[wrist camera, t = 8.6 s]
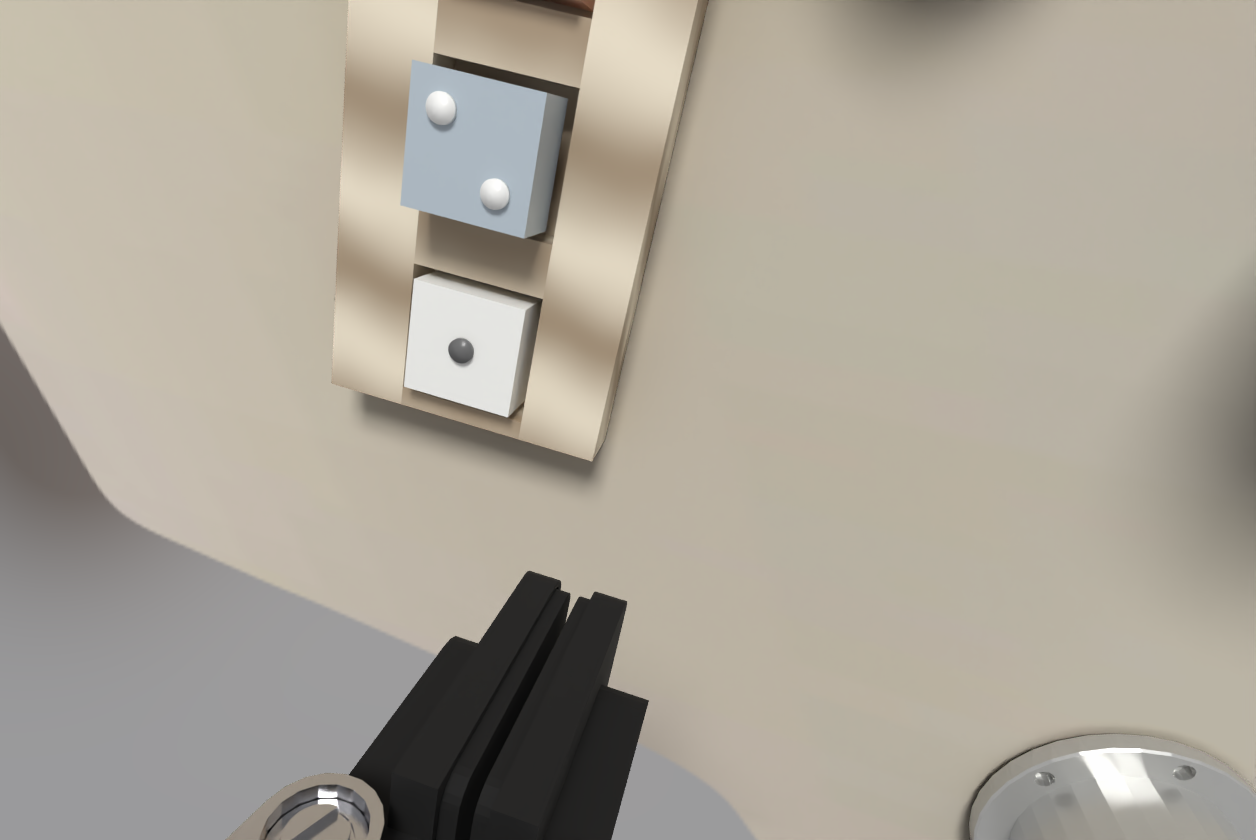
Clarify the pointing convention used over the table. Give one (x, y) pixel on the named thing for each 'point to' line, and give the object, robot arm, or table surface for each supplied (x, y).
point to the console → (579, 210)
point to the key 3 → (576, 4)
